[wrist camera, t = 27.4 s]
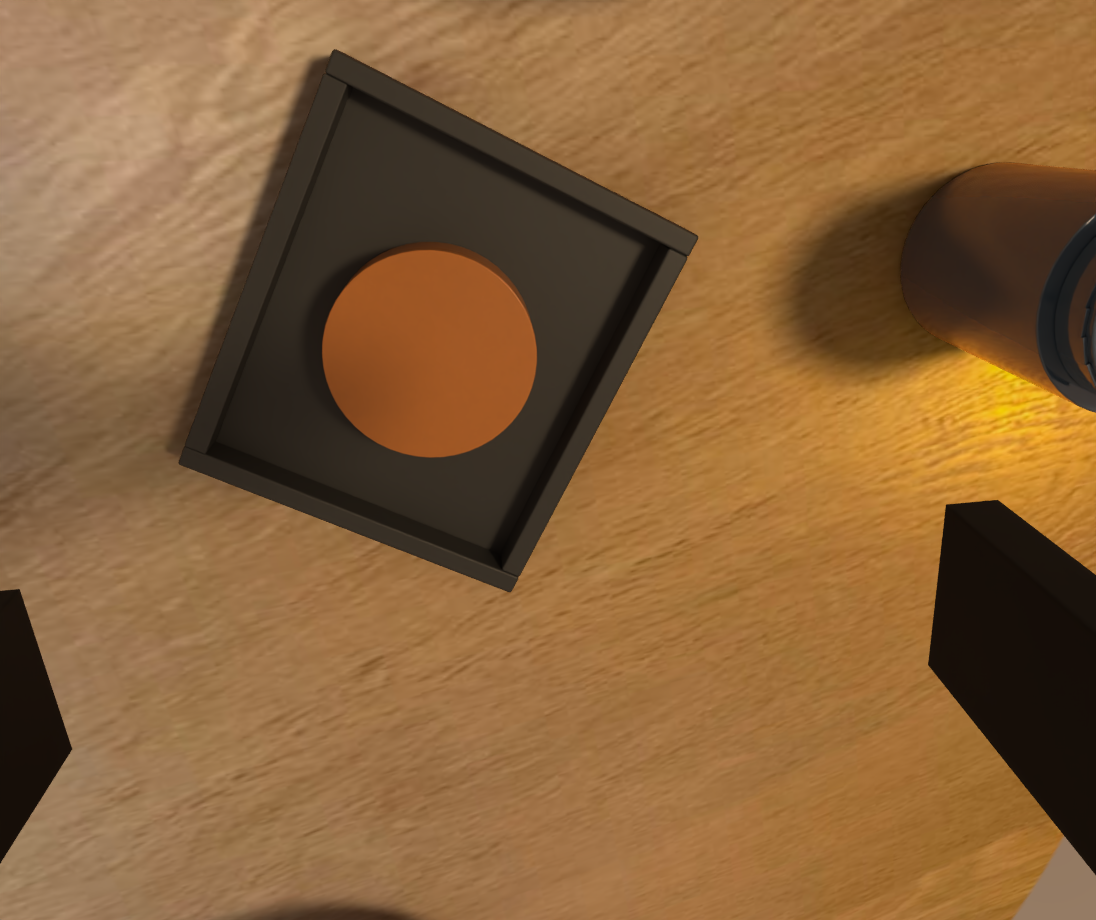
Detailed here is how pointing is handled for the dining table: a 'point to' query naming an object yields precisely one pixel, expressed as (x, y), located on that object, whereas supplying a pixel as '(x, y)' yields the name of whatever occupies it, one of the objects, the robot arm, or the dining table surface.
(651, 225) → the tray
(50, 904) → the dining table surface
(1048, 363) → the jar
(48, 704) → the robot arm
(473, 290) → the lid
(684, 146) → the dining table surface
